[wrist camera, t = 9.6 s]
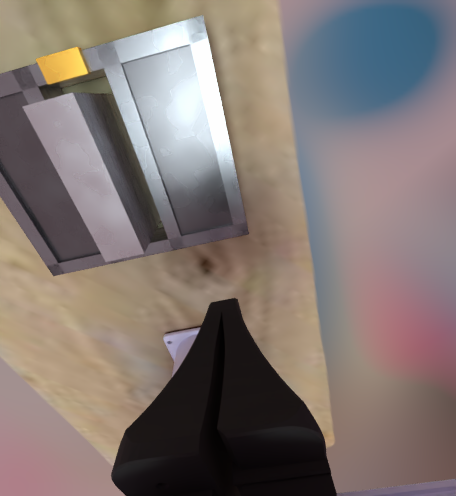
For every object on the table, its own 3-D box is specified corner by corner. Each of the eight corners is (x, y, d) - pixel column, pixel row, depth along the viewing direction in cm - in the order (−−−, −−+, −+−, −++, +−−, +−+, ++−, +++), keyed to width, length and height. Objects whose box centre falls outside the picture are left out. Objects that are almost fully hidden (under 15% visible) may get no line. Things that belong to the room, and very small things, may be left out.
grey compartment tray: (246, 220, 22) (249, 236, 20) (68, 259, 24) (50, 279, 21) (204, 24, 16) (202, 10, 13) (-33, 92, 17) (-77, 91, 15)
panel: (162, 217, 22) (144, 253, 17) (132, 223, 22) (105, 262, 17) (116, 94, 18) (72, 92, 13) (79, 104, 18) (22, 106, 13)
